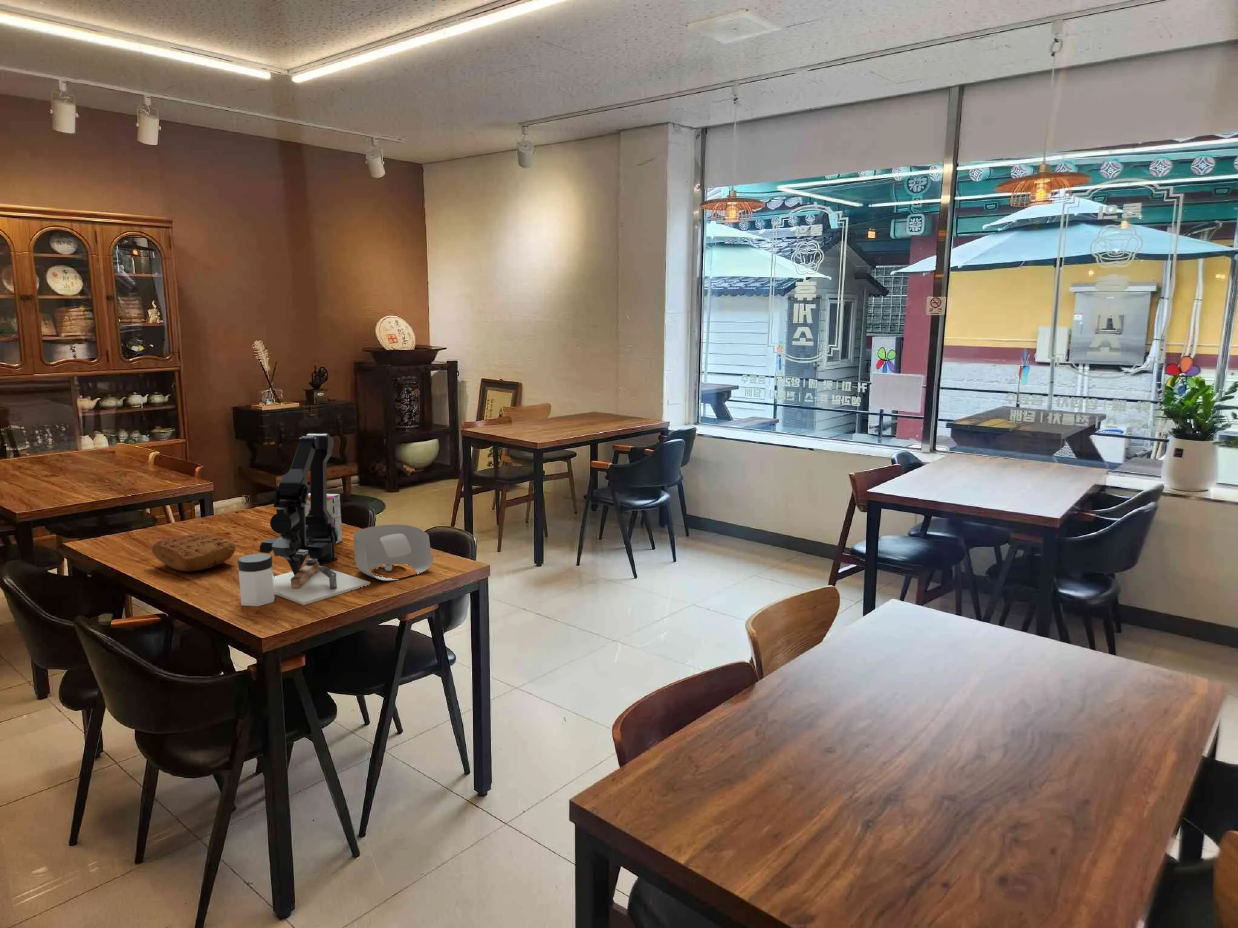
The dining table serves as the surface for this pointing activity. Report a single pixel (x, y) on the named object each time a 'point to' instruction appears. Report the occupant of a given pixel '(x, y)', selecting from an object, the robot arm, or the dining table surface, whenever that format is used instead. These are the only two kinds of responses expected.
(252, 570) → the jar
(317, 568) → the link
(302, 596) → the hinge board
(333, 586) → the keeper
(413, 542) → the gray curved shell
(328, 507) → the candy bar box
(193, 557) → the inscribed clay slab
